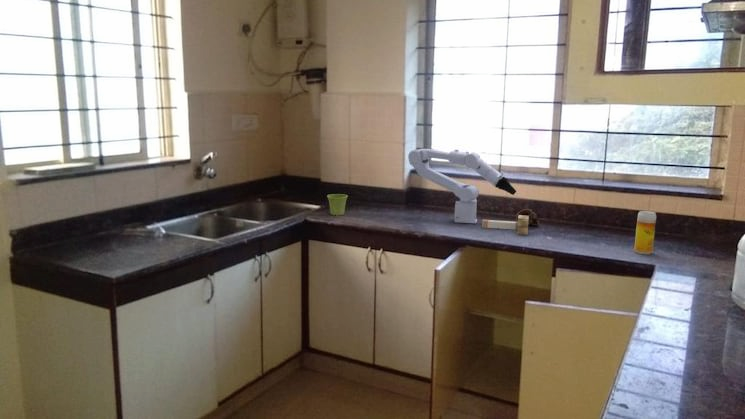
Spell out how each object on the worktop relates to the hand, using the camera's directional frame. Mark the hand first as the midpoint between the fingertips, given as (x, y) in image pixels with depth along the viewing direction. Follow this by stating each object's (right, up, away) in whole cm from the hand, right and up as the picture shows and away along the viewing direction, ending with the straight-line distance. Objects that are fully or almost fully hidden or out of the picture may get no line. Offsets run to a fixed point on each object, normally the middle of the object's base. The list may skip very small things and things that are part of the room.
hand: (513, 192), depth 254 cm
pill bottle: (+39, -23, -35) cm, 57 cm away
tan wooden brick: (+2, -17, -7) cm, 18 cm away
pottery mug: (+7, -14, +6) cm, 17 cm away
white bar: (-6, -15, +1) cm, 16 cm away
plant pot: (-76, -10, +22) cm, 80 cm away
